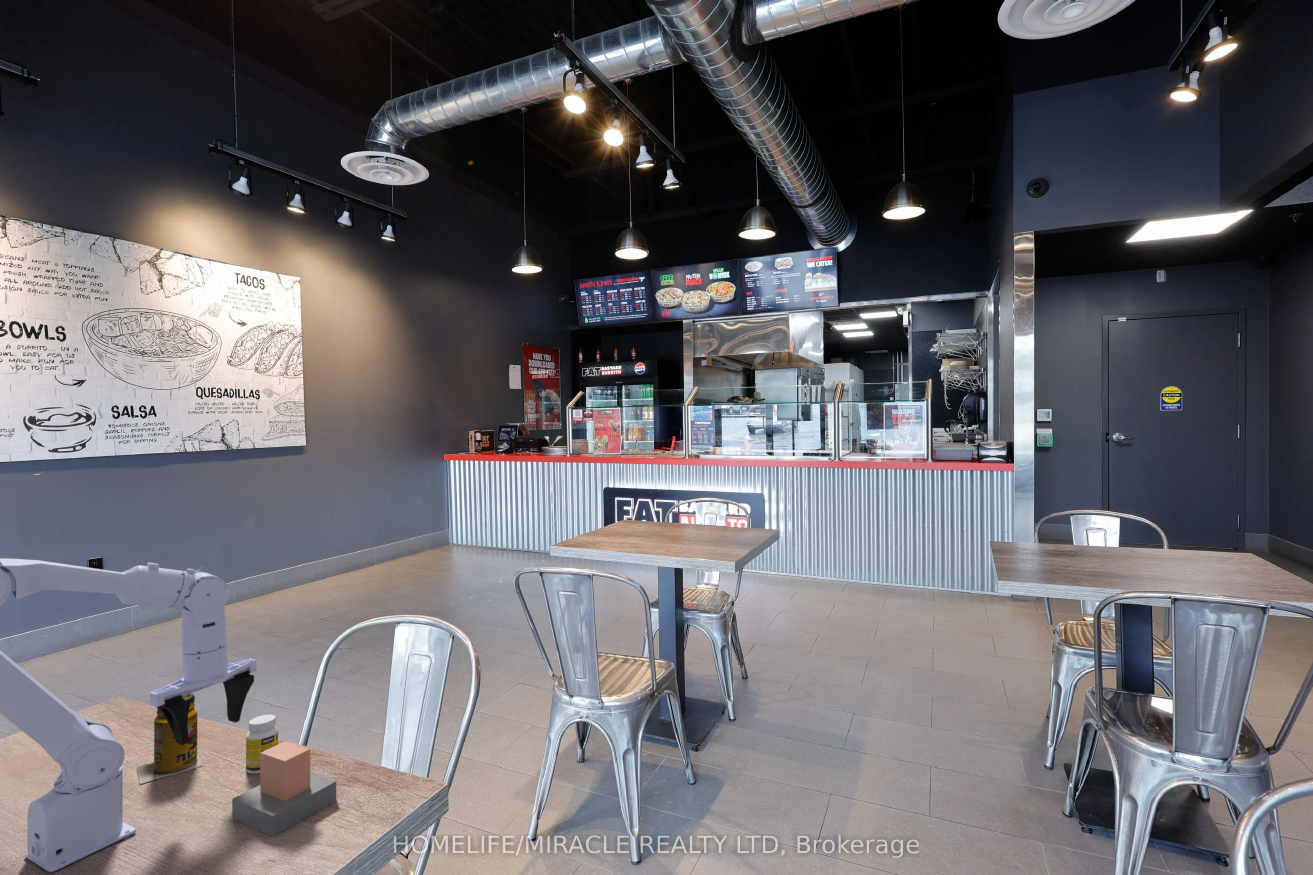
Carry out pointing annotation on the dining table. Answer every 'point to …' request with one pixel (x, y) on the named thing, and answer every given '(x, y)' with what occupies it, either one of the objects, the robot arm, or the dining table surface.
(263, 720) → the supplement bottle
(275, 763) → the top brick
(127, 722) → the dining table surface
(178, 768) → the condiment
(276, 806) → the base brick
